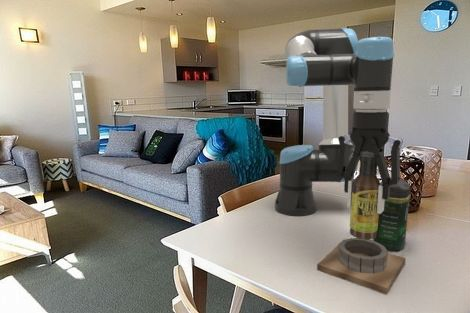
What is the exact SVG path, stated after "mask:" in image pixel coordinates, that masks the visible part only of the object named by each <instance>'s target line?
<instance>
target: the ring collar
mask: <svg viewBox="0 0 470 313" xmlns="http://www.w3.org/2000/svg"><path fill="white" fill-rule="evenodd" d="M388 251H389V250H387V249H386V248H385V247H384V246H383V245H381V244H379V243H377V242H375V241H373V239H370V240H364V239H358V238H356V237H351V238H350V237H349V238H345V239H343V240H342V241H340V242H339V243H338V244H337V245H336V246H335V247H334V248H333V249H332V250H331V251H330V252H329V253H328V254H326V256H325V257H323V258H322V259H321V260H320V261H319V262H318V263H317V264H316V270H317V271H319V272H322V273H324V274H327V275H330V276H333V277H336V278H339V279H342V280H345V281H346V282H350V283H353V284H356V285H358V286H362V287H365V288H367V289H370V290H372V291H373V290H374V291H376V292H379V293H382V294H384V295H388V293H389V292H390V289H391V288H392V287H393V285H394V283H395V282H396V280H397V278H398V276H399V275H400V273H401V271H402V270H403V268H404V266H405V264H406V257H403V256H401V255H396V254H392V253H389V252H388Z"/></svg>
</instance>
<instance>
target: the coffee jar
mask: <svg viewBox="0 0 470 313" xmlns="http://www.w3.org/2000/svg"><path fill="white" fill-rule="evenodd" d="M390 179H391V177H390ZM380 184H382V181H380ZM410 195H411V184H410V183H408V182H407V181H406V180H405V179H401V178H400V181H399V182H398V183H397V184H396V185H390V196H389V198H388V199H387V200H385V202H384V211H383V212H382V213H381V214H379V218H378V229H377V231H376V238H374V239H372V241H375V242H377V243H379V244H381V245H383V246H384V247H385V248H386V250H387V251H400V250H402V249H403V247H404V246H405V245H406V238H407V236H406V235H407V225H408V216H409V208H410Z"/></svg>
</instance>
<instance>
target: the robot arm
mask: <svg viewBox="0 0 470 313" xmlns="http://www.w3.org/2000/svg"><path fill="white" fill-rule="evenodd" d="M284 48H285V50H284V53H285V57H286V63H285V64H286V66H285V69H286V70H285V71H286V72H285V75H286V76H285V77H286V81H285V82H286V85H287V86H289V87H299V88H301V87H314V86H315V87H317V86H319V87H320V86H322V141H320V142H319V143H318V148H317V149H314V147H313V145H311V144H301V145H300V144H297V145H292V146H287V147H284V148H283V149H282V150H281V151H280V156H279V165H280V166H279V190H278V193H277V195H276V198H275V202H274V208H275V211H277V212H278V213H280V214H284V215H287V216H295V217H297V216H298V217H301V216H309V215H312V214H315V213H316V212H317V206H318V204H317V201H316V198H315V193H314V192H313V182H314V183H315V182H316V183H328V182H329V183H344V187H343V188H344V189H343V190H344V193H345V194H347V205H346V208H349V209H351V202H352V191H353V183H354V180H355V179H356V178H355V177H354V173H355V171H356V172H357V171H358V168H359V163H360V155H361V154H364V152H368V153H370V154H374V157H375V159H376V162H377V170H378V173H379V176H380V180H381V182H382V184H380V185H379V189H378V205H377V213H378V214H381V213H382V212H383V211H384V202H385V200H387V199H388V198H389V196H390V185H396V184H397V183H398V182H399V181H400V179H401V147H402V146H403V142H404V140H403V139H402V138H395V137H392V136H391V135H390V133H389V120H390V113H389V112H388V111H387V110H390V107H391V105H390V104H391V92H392V91H391V90H392V88H391V87H392V75H393V63H394V62H393V61H394V57H395V53H394V40H393V38H391V37H388V36H372V37H366V38H361V39H358V36H357V33H356V32H355V30H354V29H353V28H343V27H339V28H323V29H322V28H320V29H308V30H307V29H306V30H304V31H301V32H299V33H296V34H295V35H293V36H291V37H290V38H289V39H288V41H287V42H286V45H285V47H284ZM349 86H353V88H354V89H353V110H355V111H354V112H352V122H351V124H352V125H351V128H352V129H351V131H350V134H349ZM351 141H352V142H351ZM387 143H389V144H388V145H389V148H391V151H390V172H389V168H388V165H387V161H386V158H385V152H384V148H383V147H385V145H386V144H387ZM353 144H354V145H353ZM353 146H355V147H353ZM390 178H391V179H390Z"/></svg>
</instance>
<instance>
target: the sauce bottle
mask: <svg viewBox="0 0 470 313" xmlns="http://www.w3.org/2000/svg"><path fill="white" fill-rule="evenodd" d="M377 170H378V166H377V162H376V159H375V157H374V154H373V153H362V154H361V155H360V160H359V170H358V175H357V176H356V177H355V178H354V179H355V180H354V183H353V191H352V202H351V208H350V218H349V227H350V228H349V234H350V235H351V236H352V237H353V238H358V239H364V240H374V238H376V231H377V229H378V218H379V214H378V213H377V205H378V189H379V185H380V183H381V181H380V180H379V178H378V171H377Z"/></svg>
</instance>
